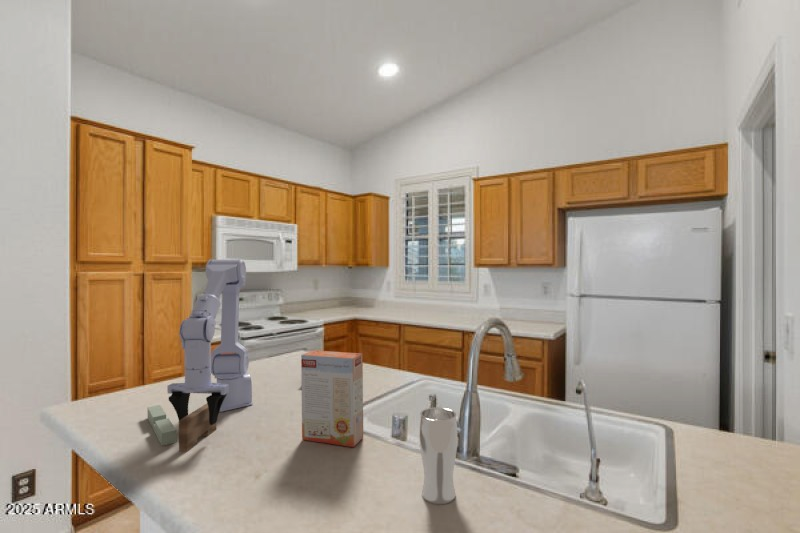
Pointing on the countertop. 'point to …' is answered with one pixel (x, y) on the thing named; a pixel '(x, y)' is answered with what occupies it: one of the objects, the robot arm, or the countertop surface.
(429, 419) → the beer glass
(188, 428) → the walnut plate
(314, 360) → the cracker box
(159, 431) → the slotted rail
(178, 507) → the countertop surface
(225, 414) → the countertop surface
